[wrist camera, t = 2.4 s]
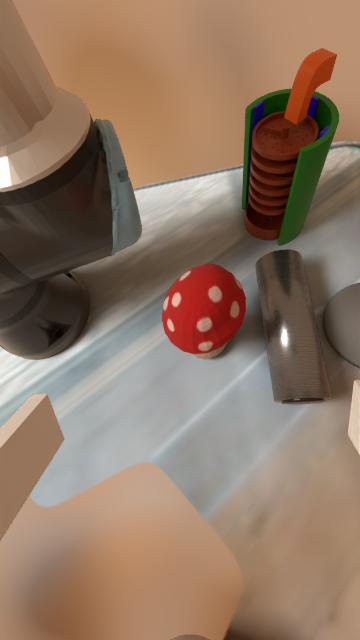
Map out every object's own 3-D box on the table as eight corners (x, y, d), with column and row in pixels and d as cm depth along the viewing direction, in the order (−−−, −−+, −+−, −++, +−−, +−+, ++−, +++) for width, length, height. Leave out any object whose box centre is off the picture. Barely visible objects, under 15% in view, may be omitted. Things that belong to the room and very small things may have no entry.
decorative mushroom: (223, 384, 36) (218, 355, 22) (166, 356, 39) (130, 315, 25) (253, 319, 38) (266, 257, 25) (198, 297, 41) (182, 230, 27)
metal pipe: (271, 405, 34) (279, 400, 28) (253, 275, 41) (257, 251, 35) (323, 403, 33) (341, 398, 28) (296, 270, 40) (306, 245, 34)
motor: (228, 220, 45) (228, 78, 27) (263, 186, 47) (285, 29, 28) (281, 252, 42) (321, 112, 23) (317, 214, 43) (382, 53, 25)
